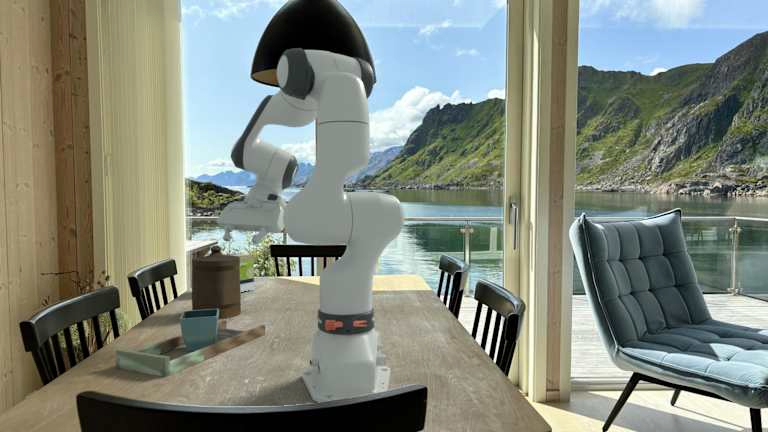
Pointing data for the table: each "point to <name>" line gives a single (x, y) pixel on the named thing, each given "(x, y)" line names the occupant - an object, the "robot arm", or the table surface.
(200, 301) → the wooden container
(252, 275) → the tea box
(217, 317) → the flower pot
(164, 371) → the channel
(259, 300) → the table surface
